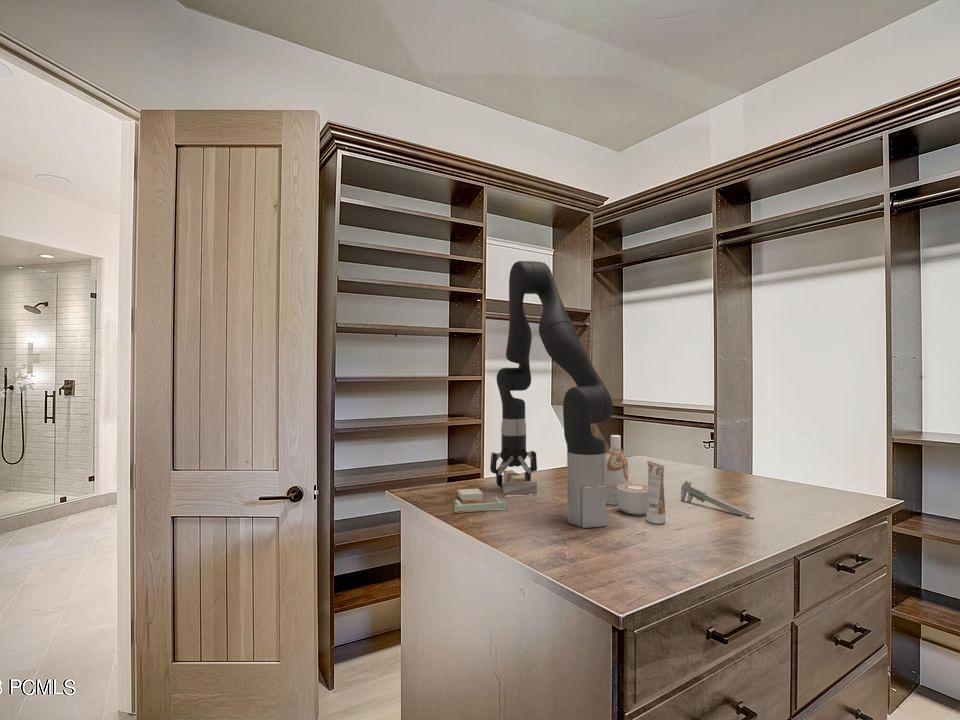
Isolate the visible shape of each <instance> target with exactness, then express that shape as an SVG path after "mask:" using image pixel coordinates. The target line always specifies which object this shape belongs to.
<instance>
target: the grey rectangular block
mask: <svg viewBox="0 0 960 720" xmlns="http://www.w3.org/2000/svg"><path fill="white" fill-rule="evenodd" d="M529 494H537V495H538V482H537V481H536V480H531V481H525V477H524V476H522V475H520V474H518V473H517V472H516V471H514V470H504V471H503V482H502V496H503V495H504V496H506V495H529Z"/></svg>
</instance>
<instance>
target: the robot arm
mask: <svg viewBox="0 0 960 720" xmlns="http://www.w3.org/2000/svg"><path fill="white" fill-rule="evenodd" d="M525 295H536V296H538V298H539V300H540V302H541V305H542V312H541V316H540V320H539V323H538V324H539V325H538V334H539V337H540V339H541V340H540V341H542V342H541V343H542V344H543V346H544V349H545V351H546V353H547V354H548V356H549V357H550V358H551V359H552V360H553V362H555V363H556V364H557V365H558V366H559V367H560V368H561V369H562V370H563V371H565V372H566V373H567V374H568V375H569V376H570V377H571V379H572V380H573V381H574V383H575V384H576V386H573V387H570V388H569V389H567V391H566V392H565V394H564V396H563V397H564V398H563V402H562V414H563V415H562V416H563V419H562V420H563V431H564V432H563V433H564V440H565V444H566V450H567V451H566V452H567V453H566V457H567V458H566V461H567V462H566V464H567V465H566V466H567V468H566V472H567V475H566V476H567V477H566V480H567V481H566V484H567V485H566V491H567V493H566V494H567V496H566V498H567V500H566V502H567V503H566V505H567V507H566V510H567V512H566V513H567V523H569V524H571V525H573V526H577V527H580V528H583V529H586V528H599V527H601V528H602V527H607V503H606V475H605V464H606V458H605V456H606V453H607V452H606V441H605V440H603V439H602V438H599V437H596V436H595V435H594V434H593V432H592V426H591V425H593V424H601V423H605V422H607V421H609V420H610V419H611V416H612V415H613V410H614V408H613V407H614V405H613V399H612V396H611V394H610V393H609V390H608V389H607V387H606V385H605V384H604V382H603V381H602V379H601V377H600V375H599V374H598V372H597V370H596V369H595V367H594V366H593V364H592V362H591V360H590V357H589V356H588V354H587V352H586V350H585V348H584V346H583V344H582V341H581V340H580V337H579V334H578V333H577V331H576V328H575V326H574V324H573V322H572V321H571V318H570V317H569V315H568V312H567V310H566V308H565V305H564V303H563V301H562V299H561V296H560V293H559V290H558V287H557V284H556V281H555V278H554V275H553V273H552V271H551V268H550V267H549V266H548V264H546V262H542V261H534V260H533V261H531V260H518V261H516V262H514V263H513V264H512V266H511V269H510V272H509V277H508V308H509V309H508V310H509V311H508V312H509V313H508V317H509V319H508V320H509V321H508V322H509V323H508V325H509V326H508V337H507V343H506V350H505V359H506V360H508V361H509V362H511V363H514V364H517V365H518V367H502V368H500V369H499V371H498V372H497V374H496V377H495V378H496V384H497V387H498V391H499V396H500V399H501V405H502V406H501V408H502V409H501V410H502V412H501V414H502V419H501V429H500V433H501V435H500V436H501V447H500V448H501V451H500V452H494V451H493V452H491V454H490V469H489V470H490V472H491V473H492V474H495V476H496V477H495V479H496V480H495V481H496V482H495V483H496V485H497V486H498V487H499V488H503V474H504V471H506V469H508V468H513V467H517V468H518V467H519V468H520V467H521V468H522V469H523V470H524V471H525V472H524V478H525V481H532V480H531V479H532V477H531V474H532V473H534V472H537V470H538V466H537V465H538V463H537V451H534V450H530V451H527V424H526V402H525V400H524V399H522V398H517V397H514V396H513V395H512V394H511V392H515V391H517V392H518V391H520V392H523V391H526V390H528V389H529V387H530V386H531V384H532V374H531V367H530V365H531V364H530V354H531V353H530V351H531V345H532V338H533V336H532V329H531V326H530V323H529V321H528V319H527V316H526V313H525V309H524V297H525ZM527 457H528V458H529V461H530V467H529V466H528V464H527V462H526V461H525V460H526V458H527ZM499 459H502V461H501V462H500V464H499V466H498V467H497V462H498V460H499Z"/></svg>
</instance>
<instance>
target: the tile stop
mask: <svg viewBox="0 0 960 720" xmlns="http://www.w3.org/2000/svg"><path fill="white" fill-rule="evenodd" d="M490 509H507V510H508V502H507V501H502V500H501V499H500V498H499V497H498V496H495V497H493V502H482V503H466V504H463V503H462V502H461V500H460V499H454V513H455V512H457V511H471V510H490Z"/></svg>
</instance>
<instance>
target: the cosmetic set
mask: <svg viewBox="0 0 960 720" xmlns="http://www.w3.org/2000/svg"><path fill="white" fill-rule="evenodd" d="M621 438H622V436H621V435H619V434H611V435H610V448H609V449H608V451H607V452H606V453H605V458H606V464H605V475H606V505H610V506H618V507H619V509H621V510H622V511H623V512H624V513H626V514H629V515H634V516H642V515H645V518H646V521H647V522H648V523H650V524H655V525H662V524H665V522H666V504H665V503H666V501H665V486H664V473H665V465H663V464H660V463H657V462H654V461H649V460H647V463H646V464H647V468H648V469H647V470H648V471H647V472H648V473H647V475H648V477H647V478H648V479H647V484H642V483H629V463H628V459H627V456H626V454H625V452H624V450H623V449H622V448H621V447H622V440H621Z"/></svg>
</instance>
